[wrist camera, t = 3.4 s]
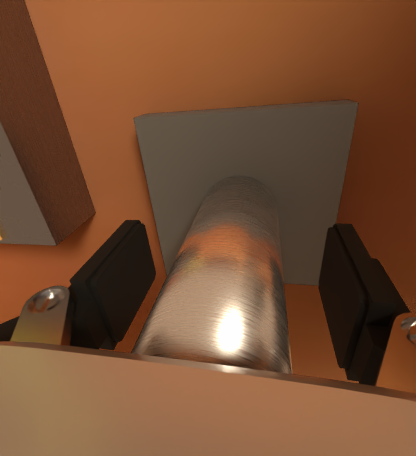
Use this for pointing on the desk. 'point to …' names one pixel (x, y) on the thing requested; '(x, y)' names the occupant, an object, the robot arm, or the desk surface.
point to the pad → (252, 170)
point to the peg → (225, 286)
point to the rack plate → (34, 143)
